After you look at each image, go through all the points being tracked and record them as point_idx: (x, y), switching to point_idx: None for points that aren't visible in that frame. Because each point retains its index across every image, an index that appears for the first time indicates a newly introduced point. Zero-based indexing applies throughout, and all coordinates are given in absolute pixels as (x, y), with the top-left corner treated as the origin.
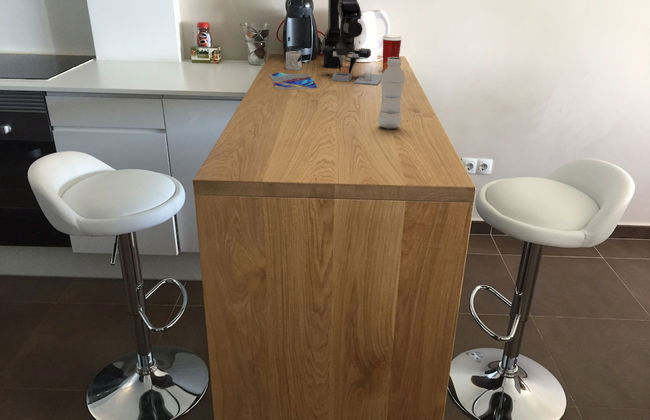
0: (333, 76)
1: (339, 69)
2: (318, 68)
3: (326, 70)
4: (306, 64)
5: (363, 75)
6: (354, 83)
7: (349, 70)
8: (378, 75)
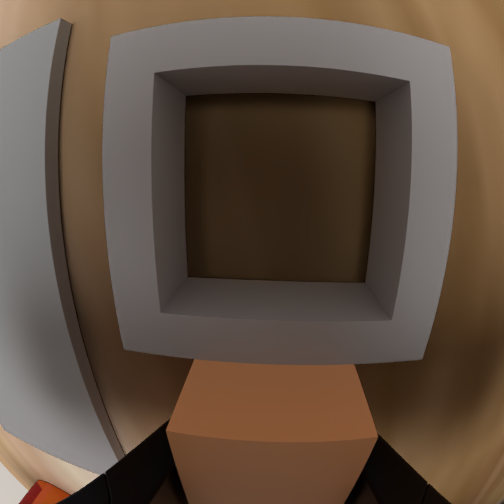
0: (418, 45)
1: (380, 437)
2: (476, 490)
3: (445, 487)
4: (499, 500)
5: (82, 419)
6: (65, 25)
7: None
8: (15, 419)
